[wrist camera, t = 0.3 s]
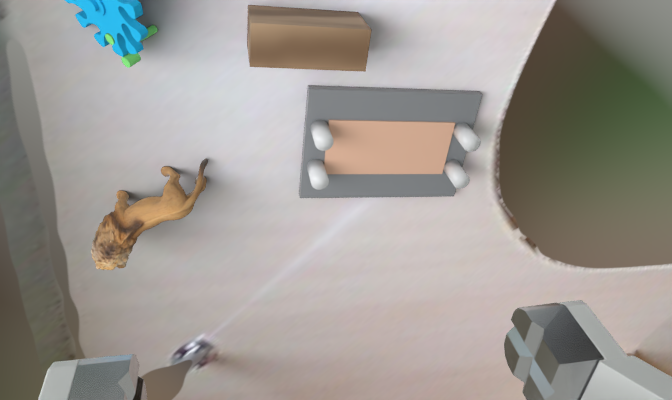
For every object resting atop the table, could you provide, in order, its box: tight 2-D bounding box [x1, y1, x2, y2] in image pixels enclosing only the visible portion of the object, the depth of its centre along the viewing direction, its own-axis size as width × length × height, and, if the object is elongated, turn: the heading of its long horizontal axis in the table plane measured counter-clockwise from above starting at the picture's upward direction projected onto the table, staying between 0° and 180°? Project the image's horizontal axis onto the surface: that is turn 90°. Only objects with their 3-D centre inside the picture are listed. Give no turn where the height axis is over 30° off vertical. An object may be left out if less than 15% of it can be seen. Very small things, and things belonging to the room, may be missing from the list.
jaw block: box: [247, 5, 371, 71], centre depth 51 cm, size 4×11×6 cm, turn 84°
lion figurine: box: [91, 159, 208, 270], centre depth 57 cm, size 15×5×9 cm, turn 122°
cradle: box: [299, 86, 482, 198], centre depth 61 cm, size 14×20×4 cm
